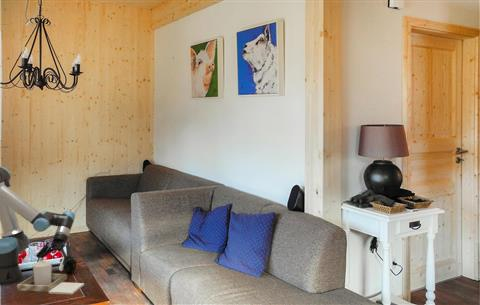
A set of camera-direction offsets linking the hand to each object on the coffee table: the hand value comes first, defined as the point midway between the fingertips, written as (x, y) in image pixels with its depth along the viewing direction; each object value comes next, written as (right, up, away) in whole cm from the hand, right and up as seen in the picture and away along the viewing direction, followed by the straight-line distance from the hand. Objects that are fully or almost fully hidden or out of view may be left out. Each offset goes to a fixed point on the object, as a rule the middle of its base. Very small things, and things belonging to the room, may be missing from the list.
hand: (48, 269), depth 232 cm
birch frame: (-2, -8, -2) cm, 8 cm away
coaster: (+14, -8, -8) cm, 18 cm away
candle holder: (-2, -8, -2) cm, 8 cm away
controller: (+4, -7, +17) cm, 18 cm away
